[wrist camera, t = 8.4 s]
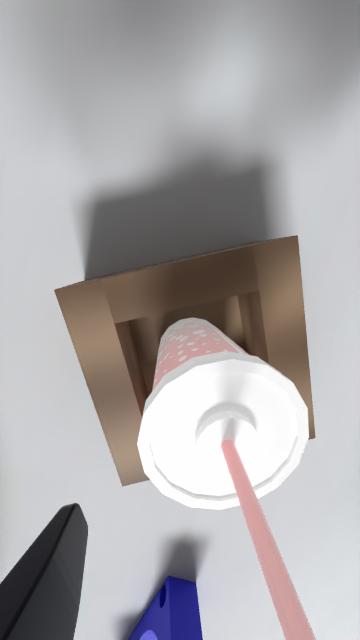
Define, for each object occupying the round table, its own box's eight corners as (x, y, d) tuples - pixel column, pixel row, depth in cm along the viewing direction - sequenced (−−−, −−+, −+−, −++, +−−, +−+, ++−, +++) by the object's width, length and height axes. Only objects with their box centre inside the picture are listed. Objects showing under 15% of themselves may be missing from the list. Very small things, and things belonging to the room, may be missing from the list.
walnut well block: (277, 394, 20) (315, 437, 15) (131, 430, 20) (122, 486, 15) (257, 241, 17) (297, 235, 12) (84, 280, 17) (54, 289, 12)
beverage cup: (133, 372, 17) (51, 774, 4) (168, 292, 16) (225, 462, 3) (211, 399, 18) (361, 790, 5) (249, 326, 17) (580, 572, 4)
